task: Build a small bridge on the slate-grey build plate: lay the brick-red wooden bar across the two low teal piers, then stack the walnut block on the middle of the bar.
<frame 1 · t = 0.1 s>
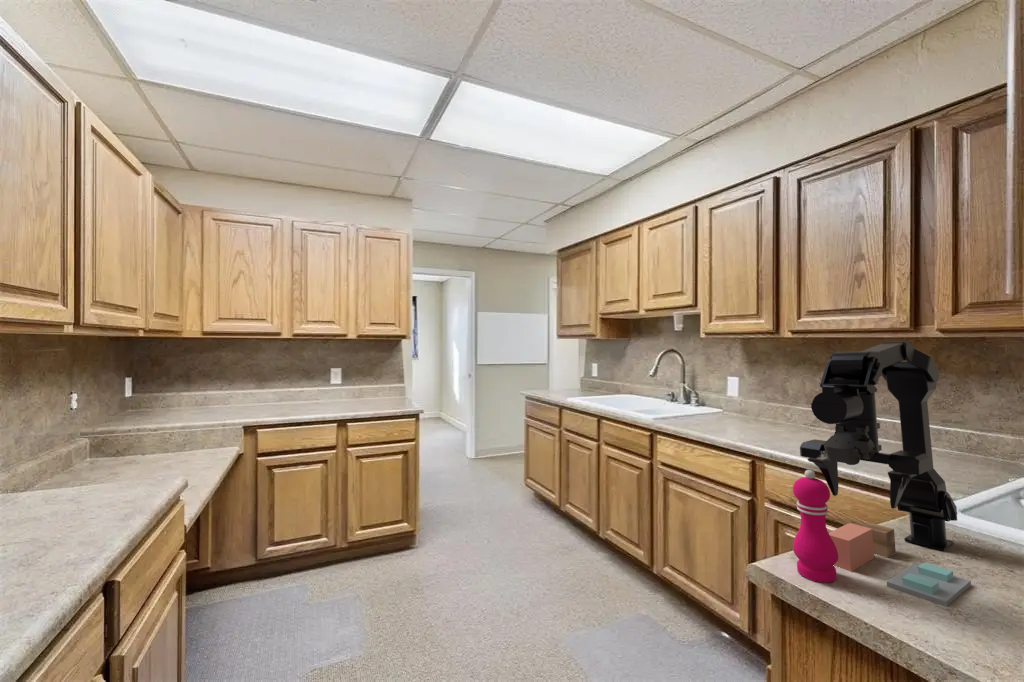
hand: (863, 501, 83), 14 cm above the countertop, tool pointing down, fingers open, 9 cm apart
build plate: (928, 585, 80), on the countertop
bar: (851, 561, 90), on the countertop
pepper mill: (816, 575, 85), on the countertop
block: (879, 552, 93), on the countertop
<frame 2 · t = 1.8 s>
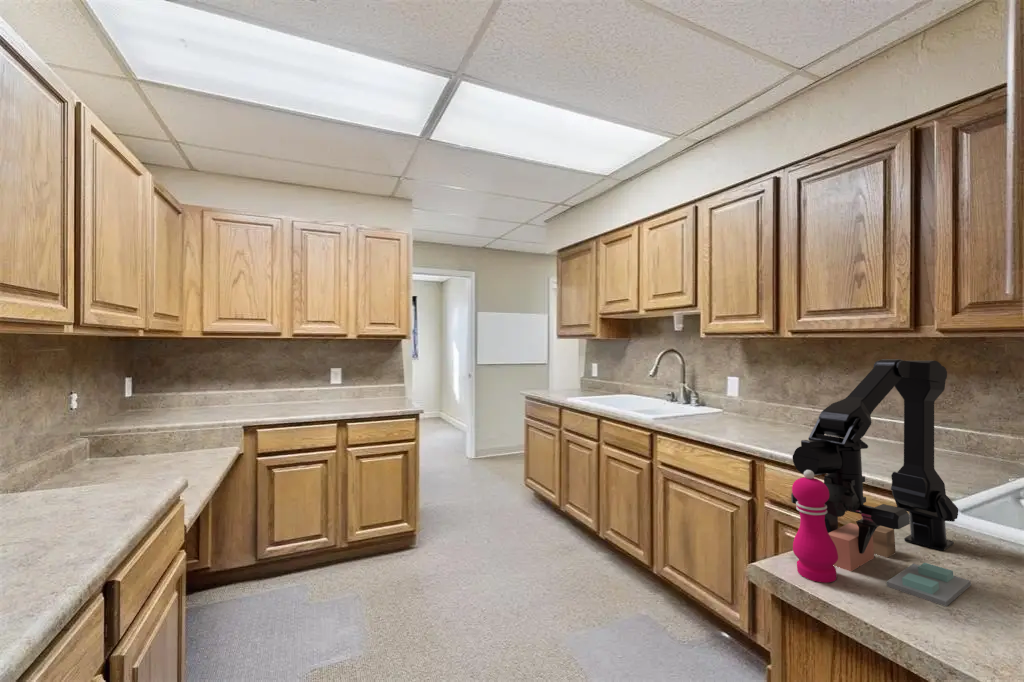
hand: (848, 548, 90), 2 cm above the countertop, tool pointing down, fingers open, 4 cm apart
bar: (851, 561, 90), on the countertop, touching gripper
pepper mill: (816, 575, 85), on the countertop, touching arm
everything else where it was.
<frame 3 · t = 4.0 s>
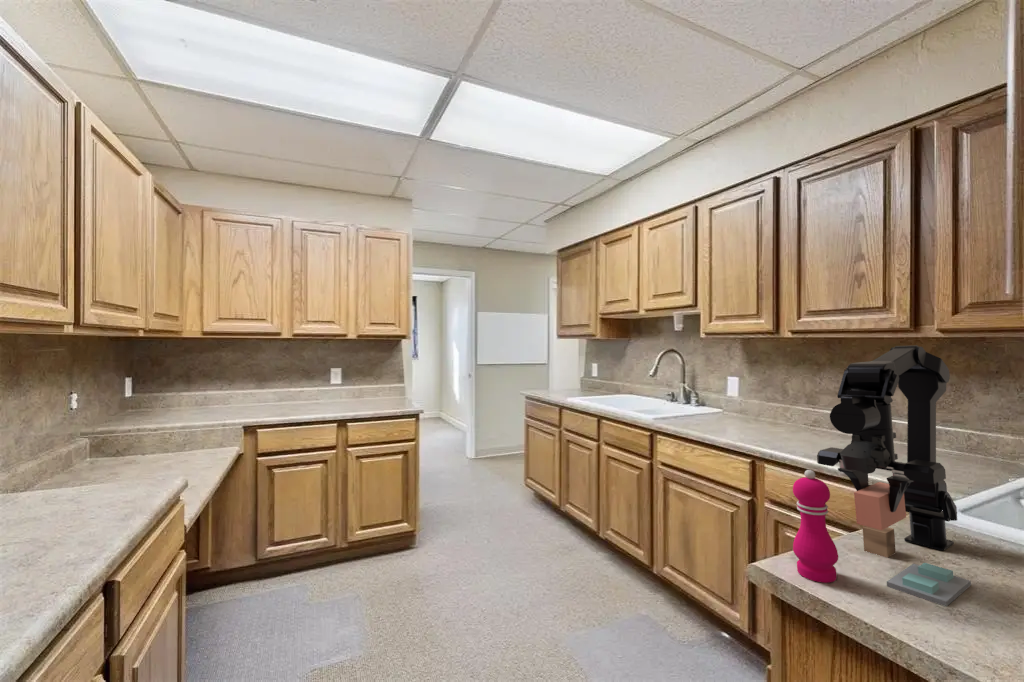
hand: (879, 508, 86), 12 cm above the countertop, tool pointing down, fingers closed on bar, 4 cm apart
bar: (881, 520, 86), point 9 cm above the countertop, touching gripper
pepper mill: (816, 575, 85), on the countertop
everything else where it was.
when the fingers open (5 cm above the countertop, at t = 6.0 s): bar stays where it is, resting on build plate.
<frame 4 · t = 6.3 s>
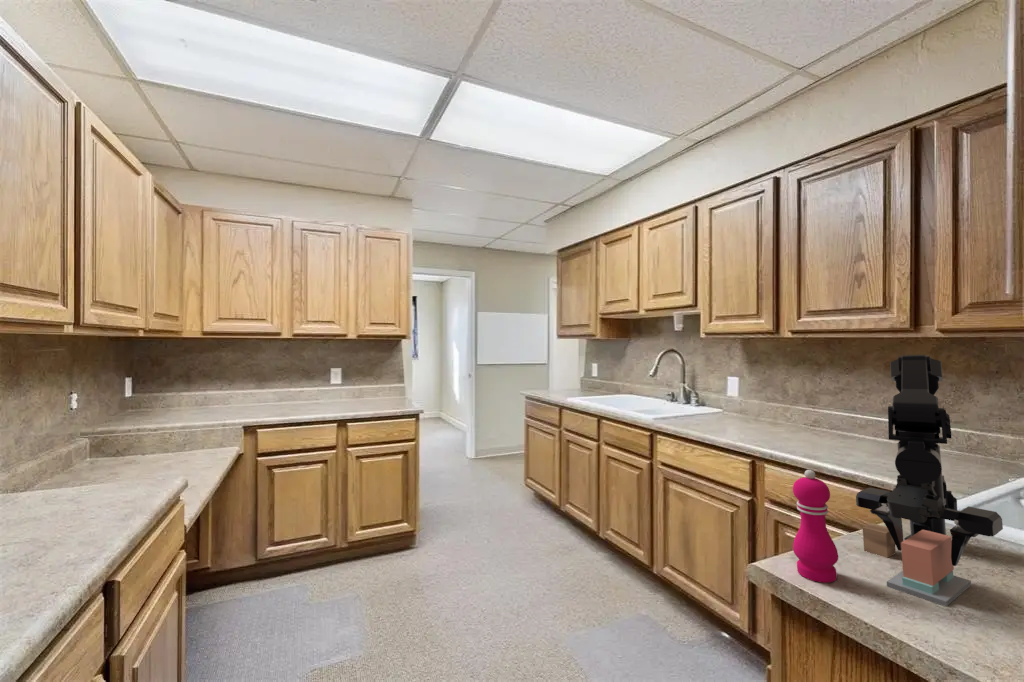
hand: (926, 557, 80), 5 cm above the countertop, tool pointing down, fingers open, 7 cm apart
bar: (928, 573, 80), point 2 cm above the countertop, touching build plate
everything else where it was.
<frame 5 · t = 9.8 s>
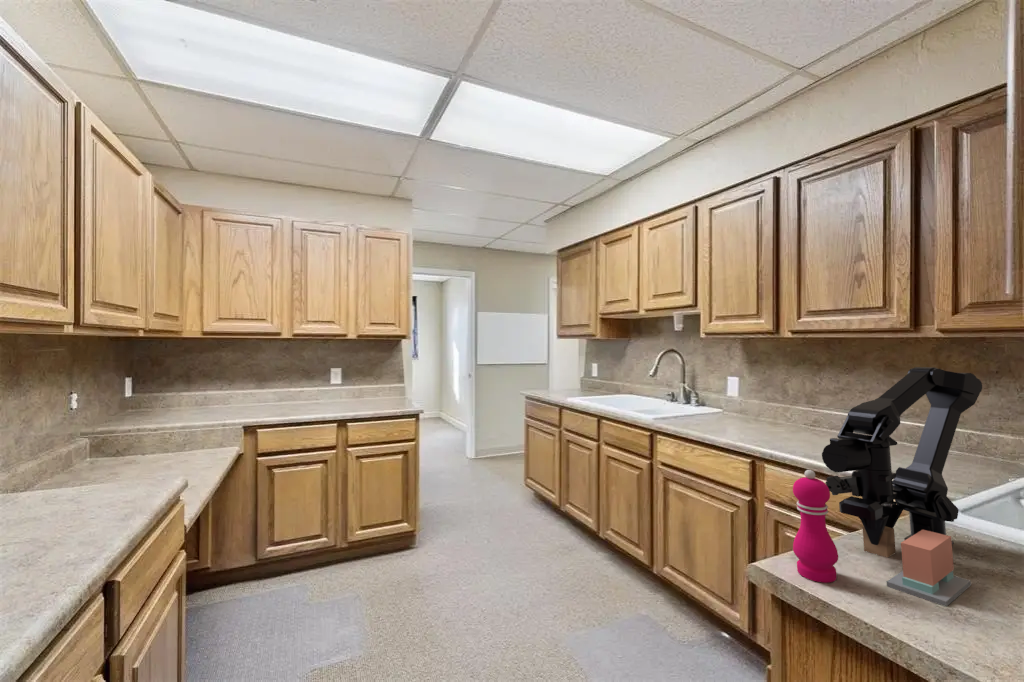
hand: (879, 541, 93), 2 cm above the countertop, tool pointing down, fingers closed on block, 4 cm apart
block: (879, 551, 93), on the countertop, touching gripper
everything else where it was.
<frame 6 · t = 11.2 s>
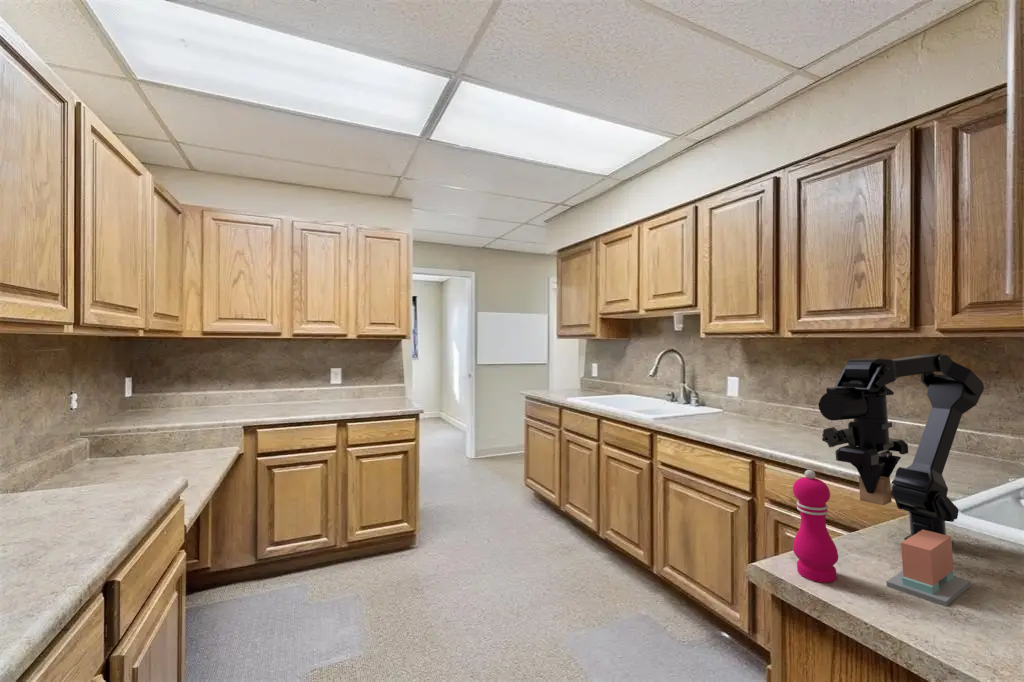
hand: (875, 491, 94), 13 cm above the countertop, tool pointing down, fingers closed on block, 4 cm apart
block: (875, 501, 94), point 11 cm above the countertop, touching gripper
everything else where it was.
when the fingers open (11 cm above the countertop, at t = 12.9 s): block stays where it is, resting on bar.
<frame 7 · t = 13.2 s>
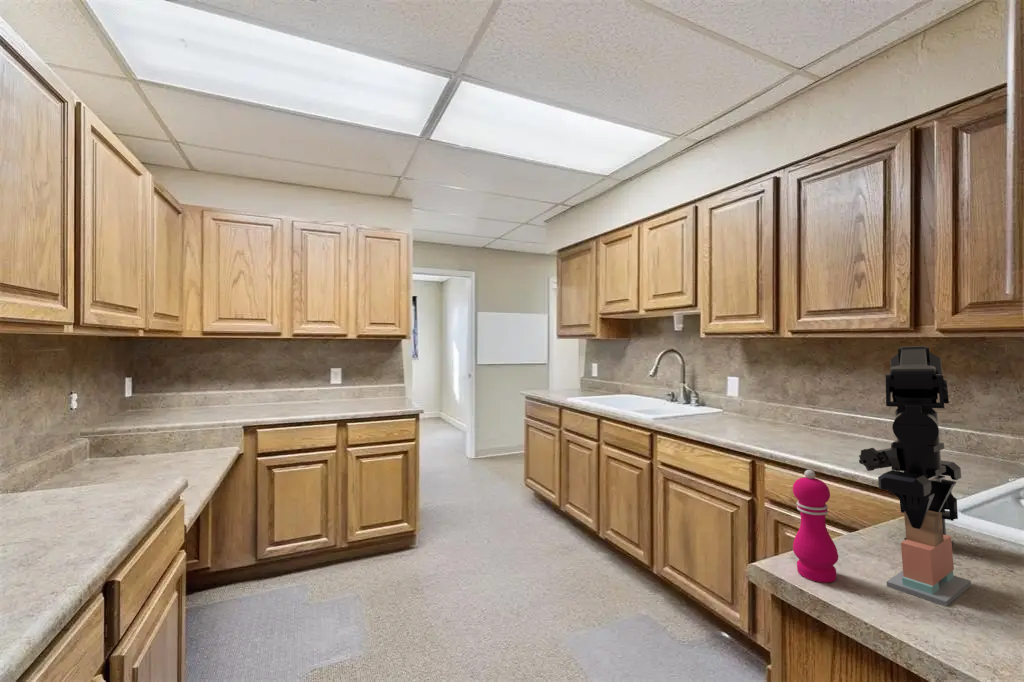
hand: (924, 523, 80), 11 cm above the countertop, tool pointing down, fingers open, 7 cm apart
bar: (928, 573, 80), point 2 cm above the countertop, touching block, build plate
block: (924, 540, 80), point 8 cm above the countertop, touching bar
everything else where it was.
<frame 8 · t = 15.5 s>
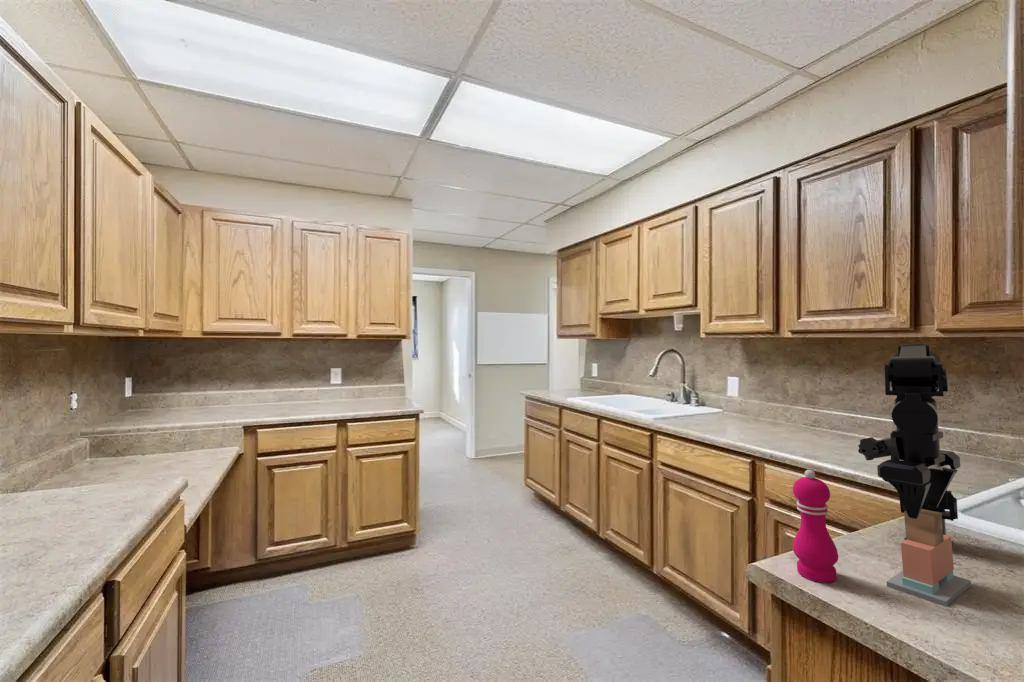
hand: (923, 512, 80), 13 cm above the countertop, tool pointing down, fingers open, 9 cm apart
nothing on the countertop moved.
at the end: bar 0.7 cm off-centre on the build plate, point 2.0 cm above the build plate's base; block 0.7 cm off-centre on the bar, point 6.0 cm above the bar's base; block tilted 0° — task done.
